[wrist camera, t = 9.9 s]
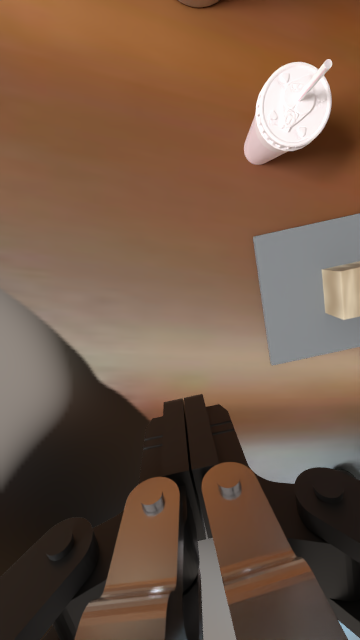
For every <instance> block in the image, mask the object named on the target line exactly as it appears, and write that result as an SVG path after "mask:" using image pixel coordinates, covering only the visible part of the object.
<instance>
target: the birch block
mask: <svg viewBox="0 0 360 640" xmlns="http://www.w3.org/2000/svg"><path fill="white" fill-rule="evenodd" d="M322 279H323V291H324V304H325V313H327V314H329V315H332V316H335V317H337V318H340V319H342V320H345V319H350V318H355V317H359V316H360V261H358V262H354V263H349V264H345V265H340V266H335V267H331V268H326V269H322Z"/></svg>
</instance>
